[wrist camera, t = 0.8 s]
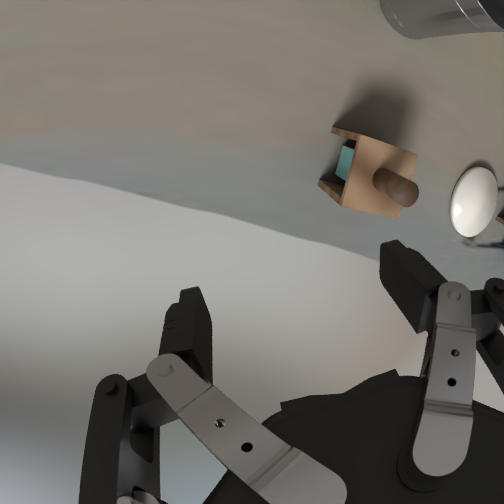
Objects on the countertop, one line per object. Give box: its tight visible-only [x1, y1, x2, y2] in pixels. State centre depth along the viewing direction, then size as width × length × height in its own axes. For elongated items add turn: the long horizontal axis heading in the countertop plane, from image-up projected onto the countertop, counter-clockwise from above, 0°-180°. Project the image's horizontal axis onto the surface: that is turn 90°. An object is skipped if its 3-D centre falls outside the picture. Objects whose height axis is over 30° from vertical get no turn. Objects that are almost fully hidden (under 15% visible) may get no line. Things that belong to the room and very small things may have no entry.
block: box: [335, 146, 355, 181], centre depth 34 cm, size 4×4×6 cm
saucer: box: [450, 166, 498, 237], centre depth 41 cm, size 13×13×1 cm
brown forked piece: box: [318, 127, 419, 219], centre depth 31 cm, size 8×8×13 cm
